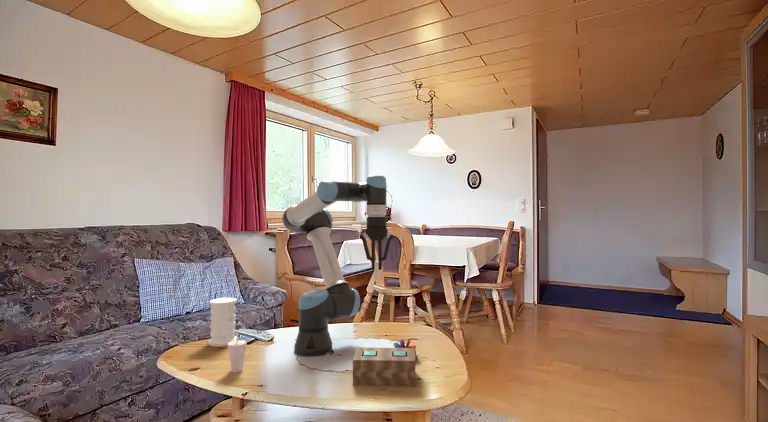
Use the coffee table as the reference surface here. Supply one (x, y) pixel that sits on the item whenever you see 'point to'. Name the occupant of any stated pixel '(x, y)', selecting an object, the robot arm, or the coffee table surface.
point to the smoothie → (237, 354)
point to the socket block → (384, 367)
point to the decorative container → (222, 321)
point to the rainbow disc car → (402, 345)
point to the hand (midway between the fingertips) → (376, 278)
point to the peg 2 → (399, 354)
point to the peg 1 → (369, 353)
